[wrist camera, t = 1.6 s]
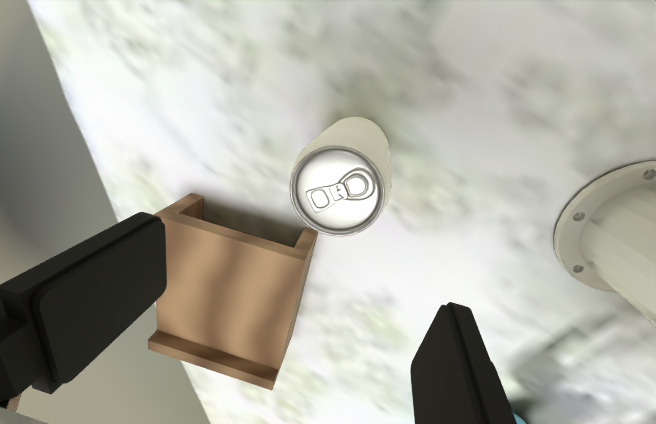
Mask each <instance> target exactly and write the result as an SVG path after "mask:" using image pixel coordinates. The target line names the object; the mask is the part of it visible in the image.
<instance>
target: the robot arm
mask: <svg viewBox="0 0 656 424" xmlns="http://www.w3.org/2000/svg"><path fill="white" fill-rule="evenodd" d="M554 248H555V251H556V255H557V258H558V259H559V261H560V263H561V264H562V266H563V267H564V268H565V269H566V270H567V271H568V272H569V273H570V274H571V275H572V276H573V277H574V278H576V279H577V280H578V281H580V282H581V283H583V284H585V285H587V286H589V287H592V288H595V289H599V290H602V291H608V292H616V293H619V294H620V295H621V296H622V297H623V298H624V299H625V300H627V301H628V302H629V303H630V304H631V305H632V306H633V307H634V308H636V309H637V310H638V311H639V312H640V313H641V314H642V315H643V316H645V317H646V318H647V319H648V320H649V321H650V322H651V323H652V324H653V325H655V326H656V161H647V162H642V163H638V164H633V165H629V166H626V167H623V168H621V169H618V170H615V171H613V172H610V173H609V174H607V175H605V176H603V177H601V178H599V179H597V180H596V181H594V182H593V183H591V184H590V185H589V186H587V187H586V188H585V189H583V190H582V191H581V192H580V193H579V194H578V195H577V196H576V197H575V198H574V199H573V200H572V201H571V202H570V203H569V205H568V206H567V207H566V209H565V210H564V211H563V213H562V215H561V217H560V219H559V221H558V223H557V226H556V230H555V235H554ZM166 287H167V267H166V234H165V224H164V223H163V222H162V220H161V218H160V217H158V216H155V215H152V214H148V213H145V212H139V213H137V214H135V215H133V216H131V217H129V218H127V219H125V220H123V221H121V222H120V223H118V224H116V225H114V226H112V227H110V228H108V229H106V230H104V231H102V232H100V233H98V234H97V235H95V236H93V237H91V238H89V239H87V240H85V241H83V242H81V243H79V244H77V245H75V246H74V247H72V248H70V249H68V250H66V251H64V252H62V253H60V254H58V255H56V256H54V257H53V258H50V259H49V260H47V261H45V262H43V263H41V264H39V265H37V266H35V267H33V268H31V269H29V270H28V271H26V272H24V273H22V274H20V275H18V276H16V277H14V278H12V279H10V280H8V281H6V282H5V283H3V284H1V285H0V424H47V423H44V422H42V421H39V420H36V419H33V418H30V417H27V416H24V415H21V414H19V413H16V410H17V407H18V403H19V400H20V397H21V394H22V392H23V391H24V390H25V389H26V388H28V387H29V386H30V385H32V387H33V388H34V389H37V390H40V391H42V392H45V393H49V394H52V393H53V392H54V391H55V390H56V389H58V388H59V387H60V386H61V385H62V384H63V383H68V382H70V381H71V380H73V379H74V378H75V377H76V376H77V375H78V374H79V373H80V372H81V371H82V370H83V369H84V368H85V367H87V366H88V365H89V364H90V363H91V362H92V361H93V360H94V359H95V358H96V357H97V356H98V355H99V354H100V353H101V352H102V351H104V350H105V348H107V347H108V346H109V345H110V344H111V343H112V342H113V341H114V340H115V339H116V338H117V337H118V336H119V335H120V334H121V333H122V332H123V331H125V330H126V329H127V328H128V327H129V326H130V325H131V324H132V323H133V322H134V321H135V320H136V319H137V318H138V317H139V316H140V315H142V313H143V312H145V311H146V310H147V309H148V308H149V307H150V306H151V305H152V304H153V303H154V302H155V301H156V300H157V299H158V298H159V297H161V296H162V294H163V293H164V292H165V290H166ZM411 384H412V395H413V406H414V417H415V424H517V422H516V420H515V417H514V414H513V412H512V409H511V407H510V404H509V402H508V399H507V397H506V394H505V391H504V389H503V386H502V384H501V381H500V379H499V376H498V373H497V371H496V368H495V366H494V365H493V363H492V362H491V361H490V358H489V355H488V353H487V350H486V348H485V345H484V342H483V340H482V337H481V335H480V332H479V329H478V327H477V324H476V321H475V319H474V316H473V314H472V311H471V309H470V308H469V307H466V306H463V305H459V304H456V303H452V302H449V303H448V304H447V305H442V306H441V307H440V308H439V310H438V312H437V314H436V316H435V318H434V320H433V322H432V324H431V326H430V328H429V330H428V331H427V333H426V335H425V337H424V339H423V341H422V343H421V345H420V347H419V349H418V351H417V353H416V355H415V357H414V359H413V361H412V364H411Z"/></svg>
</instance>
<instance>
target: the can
mask: <svg viewBox="0 0 656 424" xmlns="http://www.w3.org/2000/svg"><path fill="white" fill-rule="evenodd" d="M391 184H392V177H391V162H390V150H389V144H388V141H387V138H386V136H385V134H384V133H383V131H382V130H381V129H380V127H379V126H378V125H377V124H375V123H374V122H372V121H371V120H369V119H366V118H363V117H347V118H344V119H341V120H339V121H337V122H335V123H334V124H333V125H331V126H330V127H329V128H327V129H326V130H325V131H323V132H322V133H321V134H320V135H318V136H317V137H316V138H315V139H314V140H312V141H311V142H310V143H309V144H308V145H307V146H306V147H305V148H304V149H303V150H302V151H301V152H300V154H299V155H298V157H297V159H296V161H295V163H294V165H293V169H292V173H291V181H290V196H291V201H292V204H293V206H294V209H295V210H296V212H297V214H298V215H299V217H300V218H301V219H302V220H303V221H304V222H305V223H306V224H307V225H308V226H310V227H311V228H313V229H314V230H316V231H318V232H320V233H323V234H326V235H330V236H349V235H353V234H356V233H359V232H361V231H363V230H364V229H366V228H367V227H369V226H370V225H371V224H372V223H373V222H374V221H375V220H376V219H377V217H378V216H379V215H380V214H381V213H382V211H383V210H384V208H385V206H386V205H387V202H388V200H389V197H390V193H391Z"/></svg>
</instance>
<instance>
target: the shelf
mask: <svg viewBox="0 0 656 424" xmlns="http://www.w3.org/2000/svg"><path fill="white" fill-rule="evenodd" d="M203 198H204V197H202V196H199V195H195V194H192V193H191V194H189V195H187V196H186V197H184V198H182V199H180V200H179V201H177V202H175V203H173V204H171V205H170V206H168V207H166V208H164V209H163V210H161V211H159V212H157V213H156V214H154V215H155V216H158V217H160V218H161V220H162V222H163V223H164V224H165V234H166V267H167V287H166V290H165V292H164V293H163V294H162V296H161V297H159V298H158V299H157V300H156V310H157V311H156V312H157V331H156V332H155V333H154V334H153V335H152V336H151V337H150V338H149V339H148V349H150V350H152V351H155V352H159V353H161V354H164V355H168V356H170V357H173V358H176V359H179V360H182V361H185V362H188V363H191V364H194V365H197V366H200V367H203V368H206V369H209V370H212V371H215V372H218V373H221V374H224V375H227V376H230V377H233V378H236V379H239V380H242V381H245V382H248V383H251V384H254V385H257V386H260V387H263V388H266V389H269V390H272V389H273V386H274V384H275V381H276V378H277V375H278V373H279V370H280V367H281V364H282V362H283V359H284V356H285V353H286V351H287V348H288V345H289V342H290V340H291V337H292V333H293V329H294V325H295V321H296V317H297V313H298V309H299V305H300V301H301V297H302V293H303V289H304V285H305V281H306V277H307V273H308V269H309V265H310V261H311V258H312V254H313V250H314V246H315V242H316V238H317V234H318V231H316V230H313V229H310V228H306V227H305V228H304V230H303V232H302V234H301V236H300V238H299V239H298V241H297V243H296V245H295V247H294V248H292V247H289V246H286V245H282V244H279V243H276V242H272V241H269V240H266V239H263V238H259V237H256V236H253V235H249V234H246V233H243V232H239V231H236V230H233V229H229V228H226V227H223V226H219V225H216V224H213V223H209V222H206V221H203V220H202V218H203Z"/></svg>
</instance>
